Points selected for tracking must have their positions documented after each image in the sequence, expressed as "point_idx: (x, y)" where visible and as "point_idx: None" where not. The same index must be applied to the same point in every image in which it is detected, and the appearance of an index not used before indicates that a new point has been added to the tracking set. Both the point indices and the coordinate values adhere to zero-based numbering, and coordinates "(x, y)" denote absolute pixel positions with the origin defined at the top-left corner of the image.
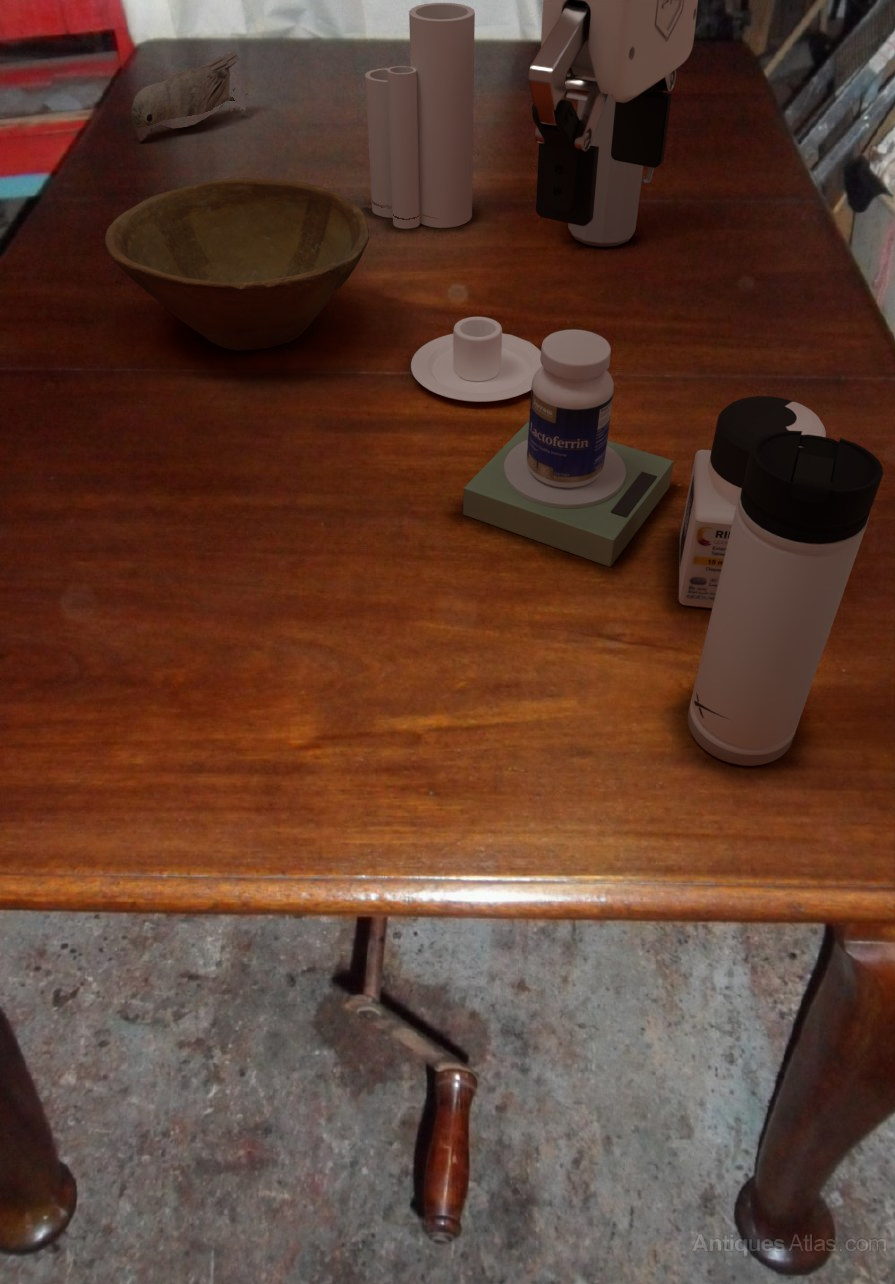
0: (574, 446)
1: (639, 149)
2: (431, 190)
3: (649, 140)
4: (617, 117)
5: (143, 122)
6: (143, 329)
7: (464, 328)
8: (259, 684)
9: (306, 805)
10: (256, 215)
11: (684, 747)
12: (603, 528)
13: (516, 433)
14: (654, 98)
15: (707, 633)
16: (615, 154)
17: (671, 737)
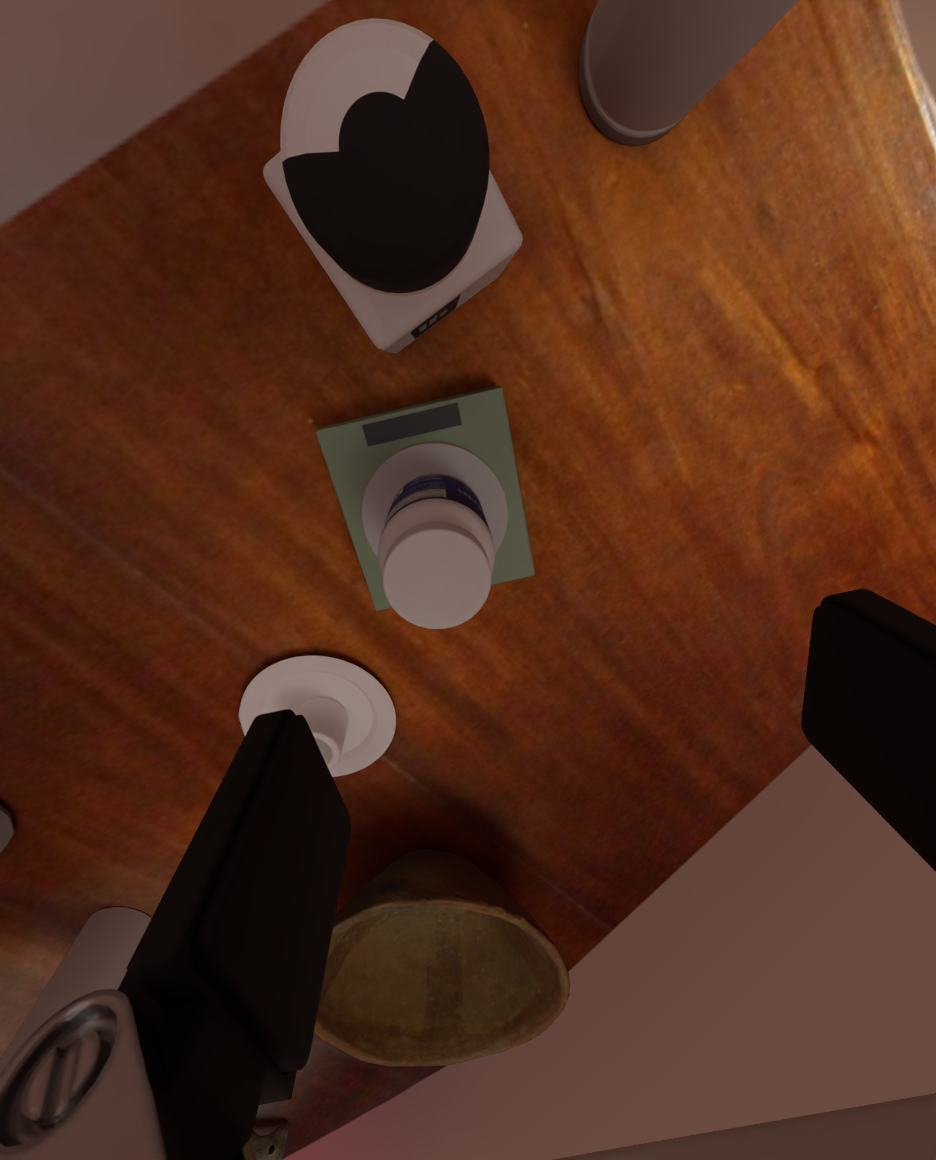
0: (472, 499)
1: (310, 795)
2: (128, 963)
3: (292, 801)
4: (324, 950)
5: (278, 1145)
6: None
7: None
8: (825, 526)
9: (931, 388)
10: (364, 1004)
11: (700, 111)
12: (492, 411)
13: None
14: (228, 978)
15: (750, 48)
16: (345, 826)
17: (694, 136)
